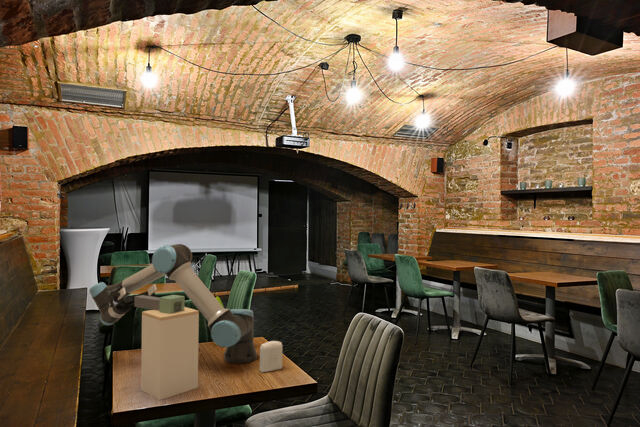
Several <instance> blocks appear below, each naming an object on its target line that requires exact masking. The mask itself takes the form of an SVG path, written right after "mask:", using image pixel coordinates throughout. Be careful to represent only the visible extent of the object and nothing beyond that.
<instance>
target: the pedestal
mask: <svg viewBox="0 0 640 427" xmlns="http://www.w3.org/2000/svg"><path fill="white" fill-rule="evenodd" d="M199 315H200V311H199V309H197V310H196V309H194V308H190V307H187V306H184V311H180V312H176V313H172V314H169V313H163V312H159V311H158V310H152V309H148V310H144V311H142V312H141V357H140V358H141V359H140V360H141V362H140V363H141V364H140V365H141V368H140V369H141V371H140V372H141V374H140V375H141V376H140V377H141V378H140V390H141V391H142V392H145V393H146V394H147V395H150V396H152V397H153V398H155V399H156V400H159V401H161V400H164V399H167V398H170V397H174V396H177V395H180V394H182V393H185V392H188V391H192V390H195V389H198V388H199V327H200V324H199V320H200V318H199V317H200V316H199Z"/></svg>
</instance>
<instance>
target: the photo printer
mask: <svg viewBox="0 0 640 427" xmlns="http://www.w3.org/2000/svg"><path fill="white" fill-rule="evenodd" d="M282 368H283V344H282V342H281V341H277V340H270V341H266V342H264V343H262V344H260V346H259V372H260V373H265V372H271V371H278V370H281V369H282Z"/></svg>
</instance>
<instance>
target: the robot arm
mask: <svg viewBox="0 0 640 427" xmlns="http://www.w3.org/2000/svg"><path fill="white" fill-rule="evenodd" d="M152 254H153V255H152V258H151V262H152V264H150V265H149V266H147V267H145V268H143V269H141V270H140V271H138V272H136V273H134V274H132V275H129V276H128V277H126V278H124V279H123V280H121V281H119V282H118V283H114V284H111V285H107V284H106V283H105V282H103V281H100V282H99V283H96V284H94V285H92V286H91V287H90V288H89V290H88V291H89V294H90V295H91V298H92V300H93V302H94V304H95V305H96V307H97V309H98V310H99V312H100V315H99V322H101V323H102V324H103V325H105V326H111V325H113V324H115V323H117V322H118V321H119V320H120V319H121V318H122V317H123V316H125V314H127V313H128V312H129V311H130V310H131V309H132V306H133V305H134V298H135V296H141V295H145V296H152V297H156V291H158V288H157V284H156V283H154V284H152V285H151V286H150V287H149V288H147V290H146V291H143V292H141V293H139V294H134V295H131V294H132V293H134V292H136V291H138V290H140V289H142V288H143V287H145V286H147V285H149V284H151V283H152V282H154V281H156V280H158V279H160V278H162V277H164V276H166V277H167V278H168V279H169V280H170V281H175V283H177V285H178V286H179V287H180V288H181V290H182V291H183V293H184V294H185V295H186V296H187V297H188V298H189V300H190V301H191V302H192V303H193V305H194V306H195V307H196V308H197V310H198V311H199V313H201V315H202V316H203V317H204V318H205V319H206V321H207V327H208V329H209V330H210V337H211V340H212V341H213V343H214V344H215V343H216V344H217V345H216V346H219V347H220V348H221V347H222V348H225V351H224V354H223V359H224V361H225V362H226V363H229V364H237V365H238V364H242V365H243V364H248V363H251V362H254V361H256V360H257V359H258V353H257V350H256V347H255V343H254V321H255V319H254V318H255V317H254V311H253V310H252V309H247V308H245V309H244V308H231V309H230V308H225V307H224V306H223V307H224V308H223V307H222V306H221V304H220V303H219V302H218V301H217V299H216V297H215V296H214V295H213V293H212V292H211V291H210V290H209V289H208V287H207V286H206V285H205V284H204V282H203V281H202V280H201V279H200V277H199V276H198V275H197V274H196V273H195V271H194V270H193V269H192V267H191V266H192V265H191V264H192V259H193V253H192V250H191V249H190V247H189V246H187V245H185V244H181V243H179V244H178V243H177V244H171V245H168V244H167V245H166V244H165V245H163V246H159V247H158V248H157V249H155V250H154V252H153V253H152ZM130 295H131V296H130Z"/></svg>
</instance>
